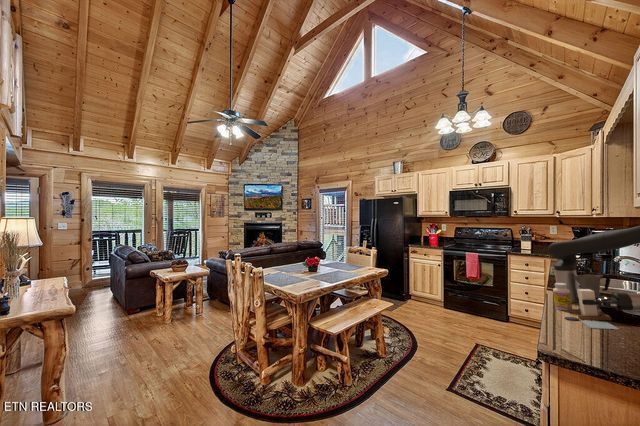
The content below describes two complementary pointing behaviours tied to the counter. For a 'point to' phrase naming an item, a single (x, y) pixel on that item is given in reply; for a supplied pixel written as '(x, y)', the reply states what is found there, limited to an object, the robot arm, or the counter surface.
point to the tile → (599, 325)
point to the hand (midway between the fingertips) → (580, 300)
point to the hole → (572, 318)
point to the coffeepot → (592, 282)
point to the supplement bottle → (562, 297)
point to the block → (587, 295)
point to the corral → (602, 317)
